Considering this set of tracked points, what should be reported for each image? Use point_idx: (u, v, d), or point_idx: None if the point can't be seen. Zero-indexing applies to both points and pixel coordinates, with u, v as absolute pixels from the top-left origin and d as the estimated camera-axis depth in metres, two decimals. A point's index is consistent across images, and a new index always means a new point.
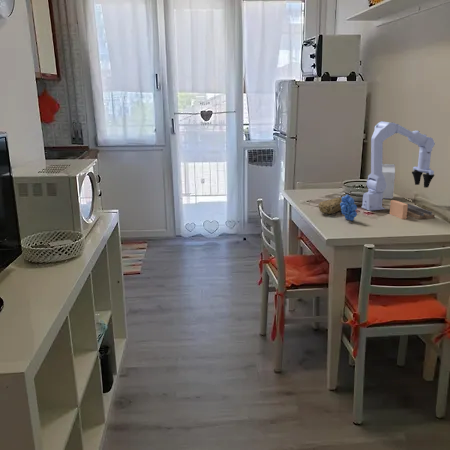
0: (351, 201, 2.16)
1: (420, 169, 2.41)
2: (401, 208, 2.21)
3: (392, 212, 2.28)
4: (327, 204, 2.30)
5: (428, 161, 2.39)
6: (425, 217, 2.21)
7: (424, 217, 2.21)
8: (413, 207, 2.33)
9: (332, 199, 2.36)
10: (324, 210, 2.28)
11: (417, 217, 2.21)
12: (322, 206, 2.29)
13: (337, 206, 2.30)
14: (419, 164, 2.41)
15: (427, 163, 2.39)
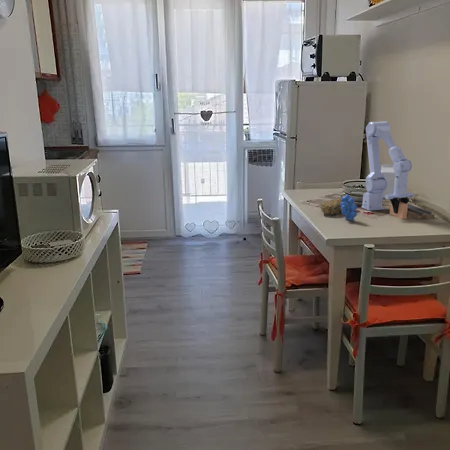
0: (351, 201, 2.16)
1: None
2: (401, 208, 2.21)
3: (392, 211, 2.28)
4: (329, 204, 2.29)
5: (396, 186, 2.21)
6: (425, 217, 2.21)
7: (424, 217, 2.21)
8: (413, 207, 2.33)
9: (334, 199, 2.36)
10: (326, 210, 2.27)
11: (417, 217, 2.21)
12: (324, 206, 2.28)
13: (339, 206, 2.29)
14: None
15: (395, 188, 2.22)
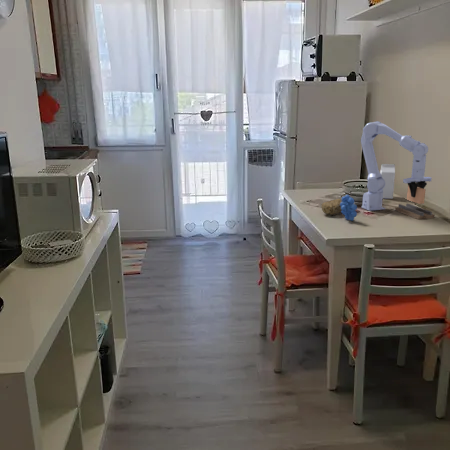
0: (351, 201, 2.16)
1: None
2: (419, 193, 2.23)
3: (410, 197, 2.30)
4: (330, 205, 2.29)
5: (414, 170, 2.22)
6: (425, 217, 2.21)
7: (424, 217, 2.21)
8: (413, 207, 2.33)
9: (335, 200, 2.35)
10: (327, 211, 2.27)
11: (417, 217, 2.21)
12: (325, 207, 2.28)
13: (340, 207, 2.29)
14: None
15: (413, 172, 2.23)
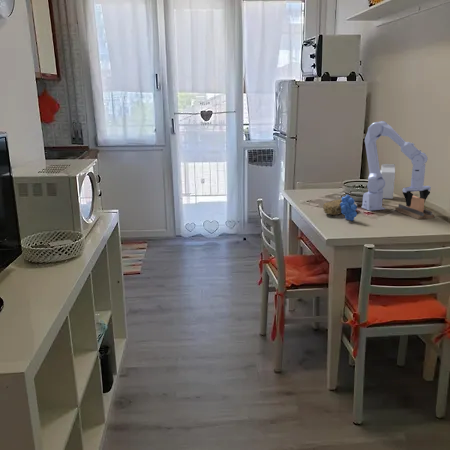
0: (351, 201, 2.16)
1: None
2: (418, 203, 2.24)
3: None
4: (332, 205, 2.28)
5: (413, 179, 2.24)
6: (425, 217, 2.21)
7: (424, 217, 2.21)
8: None
9: (336, 200, 2.34)
10: (329, 211, 2.26)
11: (417, 217, 2.21)
12: (327, 207, 2.27)
13: None
14: None
15: (412, 181, 2.24)
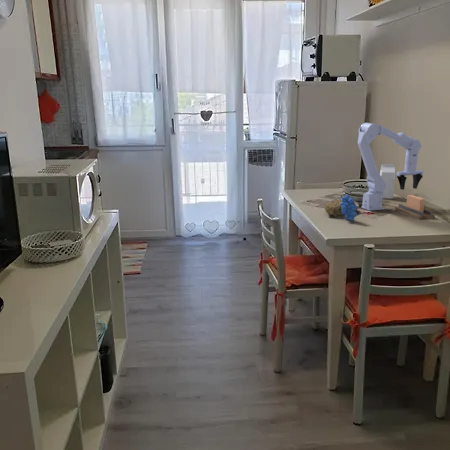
0: (351, 201, 2.16)
1: None
2: (418, 203, 2.24)
3: (409, 206, 2.31)
4: (333, 205, 2.27)
5: (406, 163, 2.37)
6: (425, 217, 2.21)
7: (424, 217, 2.21)
8: None
9: (338, 200, 2.33)
10: (331, 212, 2.25)
11: (417, 217, 2.21)
12: (328, 207, 2.26)
13: None
14: None
15: (406, 165, 2.37)
